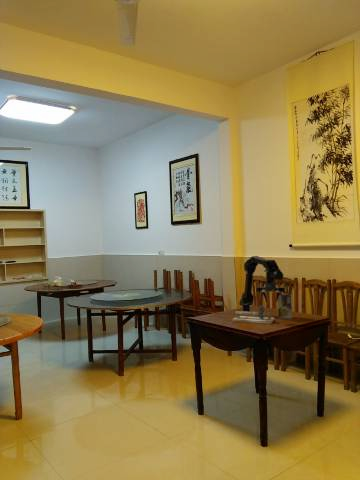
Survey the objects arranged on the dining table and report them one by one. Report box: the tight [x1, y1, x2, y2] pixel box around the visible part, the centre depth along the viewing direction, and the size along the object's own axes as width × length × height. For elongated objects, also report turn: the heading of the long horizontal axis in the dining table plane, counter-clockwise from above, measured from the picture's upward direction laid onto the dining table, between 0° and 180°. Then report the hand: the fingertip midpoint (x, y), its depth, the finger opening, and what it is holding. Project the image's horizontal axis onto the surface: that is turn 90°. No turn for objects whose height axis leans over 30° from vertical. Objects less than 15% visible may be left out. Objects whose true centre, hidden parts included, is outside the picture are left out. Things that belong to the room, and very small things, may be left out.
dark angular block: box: [258, 305, 265, 319], centre depth 263 cm, size 5×2×8 cm, turn 155°
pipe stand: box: [232, 310, 275, 325], centre depth 266 cm, size 12×26×6 cm, turn 65°
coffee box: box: [277, 293, 294, 319], centre depth 271 cm, size 9×6×16 cm
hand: (271, 302), depth 260 cm, fingers open, 6 cm apart
